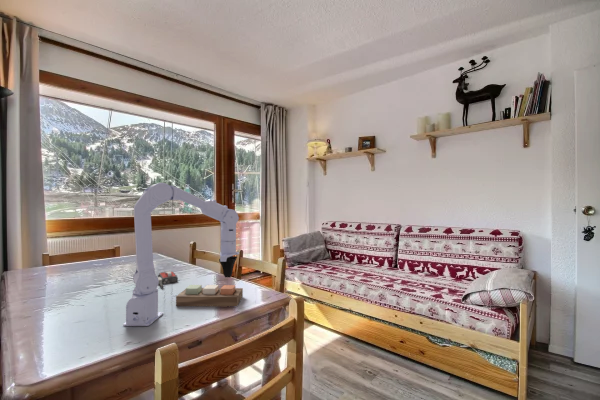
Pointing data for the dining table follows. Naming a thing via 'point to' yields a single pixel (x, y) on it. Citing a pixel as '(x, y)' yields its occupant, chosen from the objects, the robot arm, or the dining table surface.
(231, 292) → the key rust
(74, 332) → the dining table surface
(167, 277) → the walkie-talkie
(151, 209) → the robot arm
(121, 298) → the dining table surface
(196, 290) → the key sage
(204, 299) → the wooden tray
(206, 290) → the key cream
